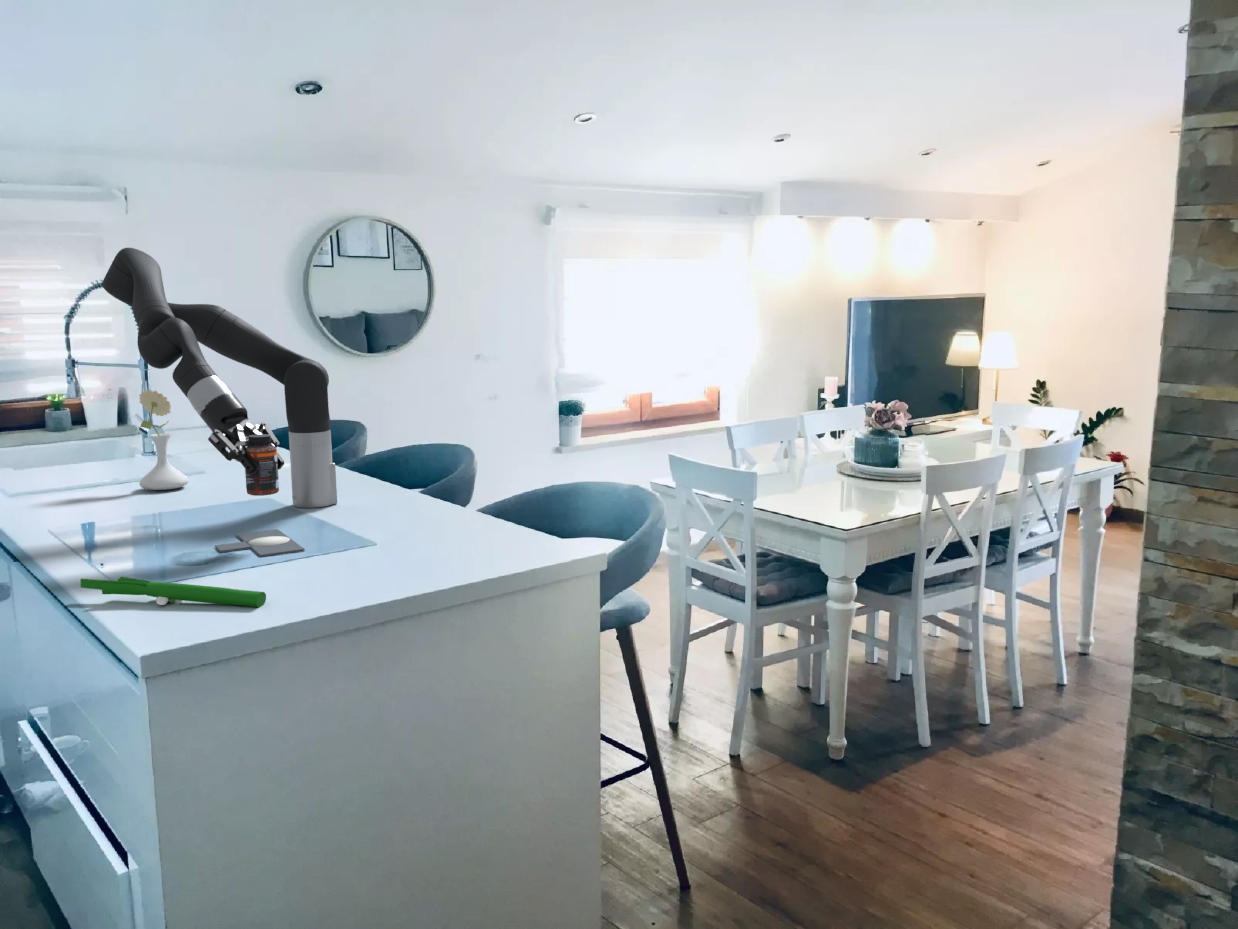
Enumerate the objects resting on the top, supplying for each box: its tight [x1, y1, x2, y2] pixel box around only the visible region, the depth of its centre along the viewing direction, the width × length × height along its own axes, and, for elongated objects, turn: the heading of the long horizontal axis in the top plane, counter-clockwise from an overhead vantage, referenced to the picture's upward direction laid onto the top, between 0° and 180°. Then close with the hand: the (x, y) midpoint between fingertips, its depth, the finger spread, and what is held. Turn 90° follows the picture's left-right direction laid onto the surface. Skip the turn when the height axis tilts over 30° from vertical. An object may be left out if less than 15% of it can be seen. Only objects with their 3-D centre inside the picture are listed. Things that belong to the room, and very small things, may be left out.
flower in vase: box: [138, 389, 190, 491], centre depth 247 cm, size 13×11×25 cm
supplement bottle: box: [244, 434, 280, 497], centre depth 189 cm, size 6×6×11 cm
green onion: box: [79, 576, 267, 608], centre depth 153 cm, size 5×3×30 cm
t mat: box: [214, 528, 306, 558], centre depth 190 cm, size 14×20×1 cm
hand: (268, 469), depth 188 cm, fingers closed on supplement bottle, 6 cm apart
